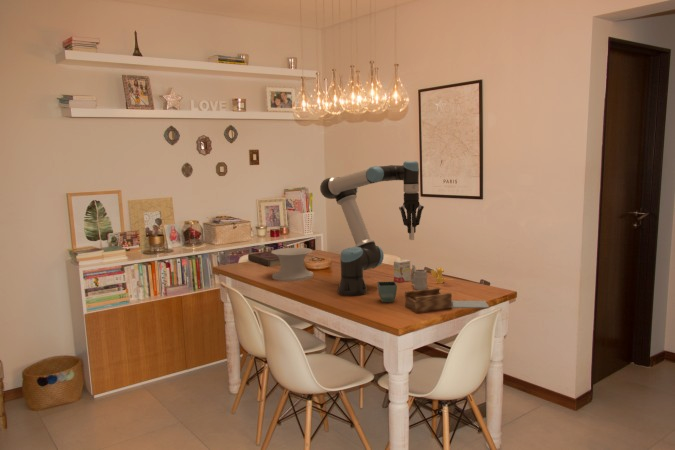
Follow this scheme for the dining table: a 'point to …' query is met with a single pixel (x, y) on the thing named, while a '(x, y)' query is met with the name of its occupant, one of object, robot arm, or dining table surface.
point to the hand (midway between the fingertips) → (411, 239)
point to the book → (265, 258)
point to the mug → (419, 278)
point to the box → (427, 300)
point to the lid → (469, 304)
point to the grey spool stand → (292, 264)
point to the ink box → (401, 270)
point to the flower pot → (387, 291)
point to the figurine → (438, 275)
